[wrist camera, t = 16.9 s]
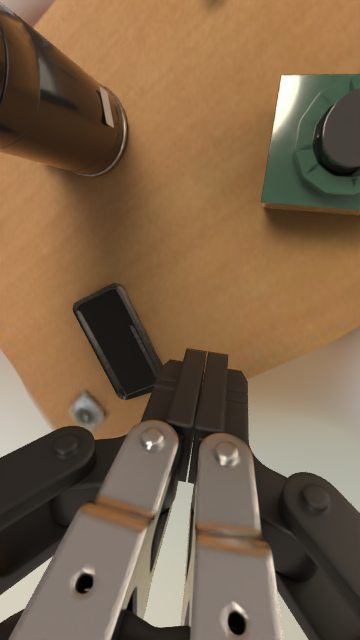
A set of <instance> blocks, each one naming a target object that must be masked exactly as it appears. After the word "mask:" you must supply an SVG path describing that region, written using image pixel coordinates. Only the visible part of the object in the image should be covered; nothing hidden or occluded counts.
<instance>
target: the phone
mask: <svg viewBox="0 0 360 640" xmlns="http://www.w3.org/2000/svg"><path fill="white" fill-rule="evenodd" d="M73 312H74V314H75V316H76V318H77V320H78V322H79V324H80V326H81V327H82V329H83V331H84V333H85V335H86V337H87V339H88V341H89V343H90V344H91V346H92V348H93V350H94V352H95V354H96V356H97V358H98V360H99V361H100V363H101V365H102V367H103V369H104V371H105V373H106V375H107V377H108V379H109V380H110V382H111V384H112V386H113V388H114V390H115V392H116V394H117V395H118V397H119V398H120V399H122V400H128V399H132V398H135V397H138V396H141V395H144V394H147V393H150V392H152V390H153V388H154V385H155V383H156V380H157V377H158V375H159V372H160V369H161V367H162V364H161V362H160V360H159V358H158V356H157V354H156V352H155V350H154V348H153V346H152V344H151V342H150V340H149V338H148V336H147V334H146V332H145V330H144V328H143V326H142V324H141V322H140V320H139V318H138V316H137V314H136V312H135V310H134V308H133V306H132V304H131V302H130V300H129V298H128V296H127V294H126V292H125V290H124V288H123V287H122V286H121V285H120V284H112V285H109V286H107V287H105V288H103V289H101V290H99V291H97V292H95V293H93V294H91V295H89V296H87V297H85V298H83V299H81V300H79V301H77V302H76V303H74V305H73Z"/></svg>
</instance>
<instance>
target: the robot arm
mask: <svg viewBox="0 0 360 640" xmlns="http://www.w3.org/2000/svg"><path fill="white" fill-rule="evenodd" d="M126 142H127V120H126V116H125V113H124V110H123V108H122V105H121V104H120V102H119V100H118V99H117V98H116V96H115V95H114V94H113V93H112V92H111V91H110V90H108V89H107V88H106V87H104V86H103V85H101V84H99V83H98V82H97V81H96V80H95V79H94V78H92V77H91V76H90V75H89V74H88V73H86V72H85V71H84V70H83V69H82V68H80V67H79V66H78V65H77V64H76V63H74V62H73V61H72V60H71V59H69V58H68V57H67V56H66V55H65V54H63V53H62V52H61V51H60V50H59V49H57V48H56V47H55V46H54V45H53V44H51V43H50V42H49V41H48V40H46V39H45V38H44V37H43V36H42V35H40V34H39V33H38V32H37V31H36V30H34V29H33V28H32V27H31V26H29V25H28V24H27V23H26V22H25V21H23V20H22V19H21V18H20V17H19V16H17V15H16V14H15V13H14V12H12V11H11V10H10V9H8V8H7V7H6V6H5V5H4V4H2V3H1V2H0V152H2V153H6V154H10V155H13V156H17V157H21V158H24V159H28V160H32V161H35V162H39V163H43V164H46V165H50V166H54V167H57V168H61V169H64V170H68V171H72V172H75V173H77V174H79V175H83V176H87V177H96V176H100V175H103V174H105V173H107V172H108V171H110V170H111V169H112V168H113V167H114V166H115V165H116V164H117V163H118V161H119V160H120V158H121V156H122V155H123V152H124V149H125V146H126ZM206 353H207V351H202V350H195V349H189V348H187V349H186V352H185V356H184V359H183V362H182V361H176V360H169V361H168V362H167V363H166V364H165V365H163V366H162V367H161V369H160V372H159V375H158V377H157V380H156V383H155V385H154V388H153V390H152V393H151V396H150V398H149V401H148V404H147V406H146V409H145V412H144V414H143V417H142V420H141V422H140V423H138V424H137V425H135V426H134V427H133V428H132V429H131V430H130V431H129V433H128V434H127V435H124V436H121V437H118V438H111V439H100V440H95V439H94V437H93V435H92V433H91V432H90V431H88V430H87V429H85V428H83V427H79V426H67V427H63V428H60V429H57V430H55V431H53V432H51V433H49V434H47V435H45V436H43V437H41V438H39V439H37V440H35V441H33V442H31V443H29V444H27V445H25V446H23V447H21V448H19V449H17V450H15V451H13V452H11V453H9V454H7V455H5V456H3V457H1V458H0V595H1V594H2V593H3V592H5V591H6V590H8V589H9V588H11V587H12V586H13V585H15V584H16V583H17V582H19V581H20V580H21V579H23V578H24V577H25V576H27V575H28V574H29V573H30V572H32V571H33V570H35V569H36V568H37V567H39V566H40V565H41V564H43V563H44V562H45V561H46V560H48V559H49V558H51V557H52V556H53V558H52V560H51V561H50V563H49V565H48V567H47V569H46V571H45V572H44V574H43V576H42V578H41V580H40V582H39V584H38V586H37V587H36V589H35V591H34V593H33V595H32V597H31V598H30V600H29V602H28V604H27V606H26V608H25V609H23V610H21V611H20V612H18V613H16V614H14V615H12V616H10V617H9V618H7V619H6V620H4V621H3V622H1V623H0V640H284V636H283V628H282V621H281V614H280V607H279V600H278V592H279V594H280V595H281V597H282V598H283V600H284V602H285V603H286V605H287V606H288V608H289V609H290V611H291V613H292V614H293V616H294V617H295V619H296V621H297V622H298V624H299V625H300V627H301V628H302V630H303V632H304V633H305V635H306V636H307V638H308V639H309V640H360V513H359V512H358V511H357V510H356V509H355V508H354V507H353V506H352V505H351V504H350V503H349V502H348V501H347V500H346V499H345V498H344V496H343V495H342V494H341V493H340V492H339V491H338V490H337V489H336V488H335V487H334V486H332V484H330V483H329V482H328V481H326V480H325V479H323V478H322V477H320V476H317V475H315V474H312V473H306V472H300V473H295V474H292V475H291V476H289V477H288V478H287V477H285V476H283V475H281V474H279V473H277V472H275V471H273V470H271V469H269V468H267V467H266V466H265V465H263V464H262V463H261V462H260V461H259V460H258V459H257V458H256V457H255V456H254V454H253V453H252V451H251V449H250V446H249V440H248V394H247V393H248V382H247V380H246V378H245V376H244V375H243V373H242V371H238V370H232V369H227V367H228V355H227V354H221V353H215V352H208V356H207V362H206V368H205V361H206ZM204 368H205V373H204ZM203 375H204V379H203ZM202 383H203V385H202ZM193 437H194V439H193ZM192 443H193V447H192ZM191 448H192V454H191ZM190 454H191V462H190V470H189V477H188V482H189V483H193V484H194V488H193V495H192V503H191V509H190V520H189V533H188V546H187V561H186V574H185V588H184V598H183V608H182V617H181V626H175V627H163V628H158V627H154V626H152V625H150V624H149V623H147V622H146V621H144V620H143V618H144V614H145V610H146V605H147V600H148V596H149V590H150V586H151V581H152V577H153V573H154V570H155V566H156V563H157V559H158V556H159V552H160V548H161V545H162V541H163V538H164V534H165V531H166V527H167V523H168V520H169V516H170V513H171V509H172V504H173V501H174V499H175V495H176V491H177V486H178V481H183V482H186V476H187V470H188V465H189V459H190ZM277 590H278V592H277Z"/></svg>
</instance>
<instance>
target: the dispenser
mask: <svg viewBox="0 0 360 640" xmlns="http://www.w3.org/2000/svg"><path fill="white" fill-rule="evenodd" d="M359 88H360V74H320V75H281V79H280V85H279V91H278V98H277V104H276V110H275V116H274V123H273V129H272V135H271V141H270V148H269V154H268V160H267V167H266V173H265V179H264V185H263V192H262V198H261V203H262V206H263V207H264V208H275V209H287V210H299V211H311V212H323V213H335V214H347V215H359V216H360V170H358V171H354V172H349V173H342V172H337V171H334V170H331V169H330V168H328V167H327V166H326V165H325V164H324V163H323V162H322V160H321V159H320V156H319V154H318V149H317V140H318V135H319V131H320V129H321V127H322V125H323V123H324V121H325V118H326V117H327V115H328V113H329V111H330V110H331V108H332V107H333V106H334V104H335V103H336V102H337V101H338V100H339V99H340V98H342V97H343V96H344V95H346V94H348V93H349V92H351V91H353V90H356V89H359Z"/></svg>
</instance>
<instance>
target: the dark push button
mask: <svg viewBox="0 0 360 640" xmlns="http://www.w3.org/2000/svg"><path fill="white" fill-rule="evenodd" d="M317 149H318V154H319V156H320V159H321V160H322V162H323V163H324V164H325V165H326V166H327V167H328V168H330V169H331V170H334V171H337V172H342V173H349V172H354V171H358V170H360V88H359V89H356V90H353V91H351V92H349V93H348V94H346V95H344V96H343V97H342V98H340V99H339V100H338V101H337V102H336V103H335V104H334V106H333V107H332V108H331V110H330V111H329V113H328V115H327V117H326V118H325V121H324V123H323V125H322V127H321V129H320V131H319V135H318V140H317Z"/></svg>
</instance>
